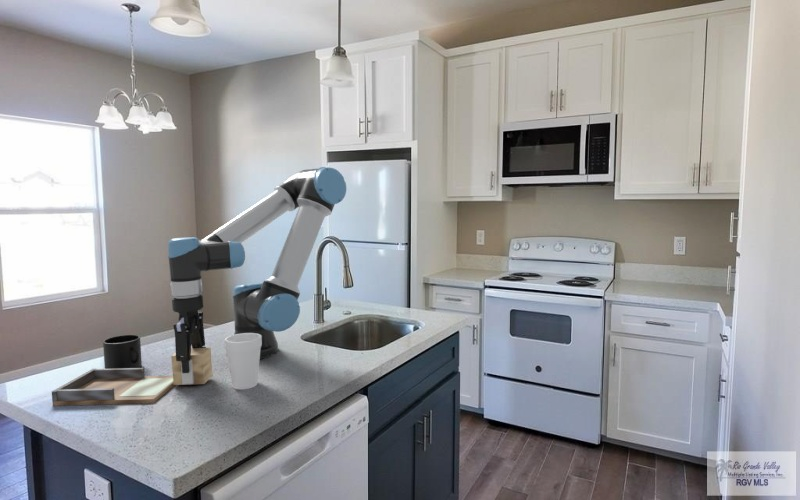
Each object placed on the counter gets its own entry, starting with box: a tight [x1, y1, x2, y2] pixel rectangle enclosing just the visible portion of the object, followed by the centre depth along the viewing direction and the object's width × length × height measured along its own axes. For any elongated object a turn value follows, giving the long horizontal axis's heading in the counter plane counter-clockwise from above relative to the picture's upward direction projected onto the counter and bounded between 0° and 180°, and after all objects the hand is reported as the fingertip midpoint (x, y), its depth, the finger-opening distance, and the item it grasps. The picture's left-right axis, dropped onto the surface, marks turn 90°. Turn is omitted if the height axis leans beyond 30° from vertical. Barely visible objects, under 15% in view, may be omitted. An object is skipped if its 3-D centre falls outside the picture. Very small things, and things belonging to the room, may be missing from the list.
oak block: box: [171, 347, 213, 386], centre depth 125 cm, size 8×6×8 cm
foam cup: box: [224, 333, 262, 390], centre depth 123 cm, size 10×9×13 cm
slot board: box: [51, 367, 175, 407], centre depth 119 cm, size 24×16×4 cm, turn 93°
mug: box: [102, 334, 143, 369], centre depth 136 cm, size 9×12×9 cm
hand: (193, 378), depth 125 cm, fingers closed on oak block, 6 cm apart
